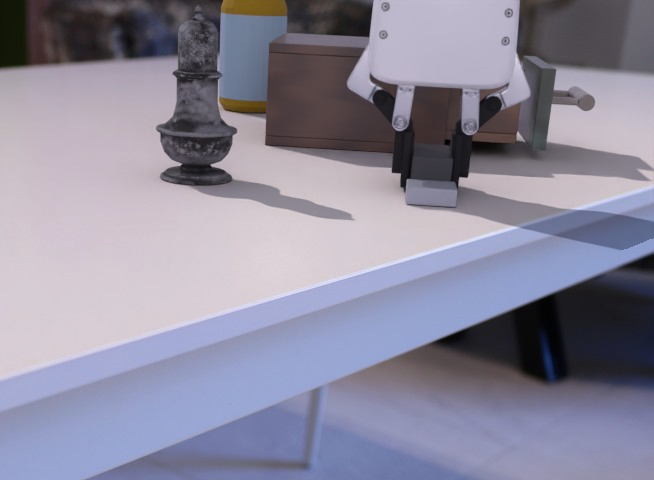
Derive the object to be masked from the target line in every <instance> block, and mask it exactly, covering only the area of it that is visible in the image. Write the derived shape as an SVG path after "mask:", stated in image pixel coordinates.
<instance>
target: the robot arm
mask: <svg viewBox="0 0 654 480" xmlns="http://www.w3.org/2000/svg"><path fill="white" fill-rule="evenodd" d="M520 3H521V0H373V3H372V8H371V9H372V10H371V19H370V26H369V27H370V29H369V36H368V37H369V43H368V45H367V47H366V48H365V50H364V52H363V54H362V55H361V57H360V59H359V60H358V62H357V64H356V66H355V67H354V69H353V71H352V73H351V74H350V76H349V78H348V80H347V87H348V88H349V89H350V90H351V91H353V92H355V93H356V94H358V95H360V96H361V97H363V98H365V99H366V100H368V101H370V102H372V103H373V104H375V106H376V107H377V108H378V109H379V110H380V111H381V113H382V114H383V115H384V116H385V117H386V118H387V120H388V121H389V122H390V123H391V124H392V126H393V128H394V129H395V137H394V149H393V153H392V161H391V162H392V163H391V174H399V175H400V177H399V187H400V188H406V182H407V179H410V177H411V166H412V155H413V151H414V140H415V130H414V129H412V128H413V120H412V119H411V118H410V114H411V108H412V102H413V96H414V90H415V86H426V87H443V88H460V110H459V120H458V121H457V122H456V123H455V129H454V131H451V138H450V140H449V149H450V152H451V155H452V157H453V167H452V176H451V182H455V184H456V187H457V191H459V184H460V178H462V179H463V178H464V179H468V178H469V173H470V167H471V166H470V164H471V155H472V147H473V141H472V138H473V134H475V133H476V132H477V130H478V129H479V128H480V127H481V126H483V125H484V124H485V123H486V122H487V121H488V120H490V119H491V118H492V117H493V116H494V115H496V114H497V113H498V112H499V111H501V110H503V109H505V108H508V107H511V106H513V105H515V104H518V103H520V102H522V101H524V100H527V99H528V98H529V97H530V95H531V90H530V87H529V84H528V82H527V79H526V76H525V74H524V71H523V68H522V66H523V64H522V63H521V60H520V57H519V55H518V54H519V53H518V52H517V49H518V47H517V46H518V37H519V35H518V34H519V22H520V21H519V20H520V5H521V4H520ZM370 75H372V76H373V77H374V78H376V79H377V80H379V81H382V82H384V83H389V84H396V85H397V89H396V95H395V99H394V97H393V96H392V95H391V94H390V93H389V91H388V90H387V89H385V88H383V87H381V86H379V85H378V84H377V83H375V82H373V81H372V80H371V77H370ZM504 85H506V86H505V87H504V88H503V89H501V90H499V91H497V92H495V93H493V94H489V95H487V96H486V97H485V98H483V99H482V100H481V101H480V89H495V88H499V87H502V86H504Z"/></svg>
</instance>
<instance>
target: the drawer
mask: <svg viewBox="0 0 654 480" xmlns="http://www.w3.org/2000/svg"><path fill="white" fill-rule="evenodd" d="M522 68H523V71H524V74H525V76H526V79H527V82H528V84H529V87H530V90H531V95H530V97H529V98H528V99H527V100H524V101H522V102H520V103H518V104H515V105H513V106H511V107H508V108H505V109H503V110H501V111H499V112H498V113H497V114H496V115H494V116H493V117H492V118H491V119H490V120H488V121H487V122H486V123H485V124H484V125H483V126H481V127H480V128H479V129H478V130H477V132H476V133H475V134H473V138H472V142H479V143H494V144H495V143H498V144H510V145H511V144H513V145H515V144H516V143H517V136H518V134H519V135H520V136H521V138H522V139H523V140H524V141H525V142H526V144H527V145H528V147H529V148H530V149H531V150H533V151H546V149H547V142H548V134H549V128H550V127H549V126H550V121H551V111H552V105H559V106H560V105H561V106H576V107H577V108H578V109H580V110H581V111H583V112H589V111H591V110H592V109H594V107H595V105H596V99H595V97H594V96H593V95H591V94H590V93H588V92H586V91H585V90H584V89H582V88H580V87H579V86H571V87H569V88H568V89H567V90H565V89H563V90H562V89H555V83H556V75H557V68H555V67H554V66H552V65H551V64H549V63H547V62H546V61H544V60H543V59H541V58H540V57H538V56H537V55H535V56H534V55H523V59H522ZM505 86H506V85H504V86H502V87H499V88H495V89H480V101H481V100H482V99H483V98H485V97H486V96H487V95H489V94H493V93H495V92H497V91H499V90H501V89H503V88H504V87H505ZM459 110H460V88H450V95H449V105H448V115H447V125H446V135H445V141H446V140H448V141H450V138H451V131H454V129H455V123H456V122H457V121H458V120H459Z"/></svg>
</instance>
